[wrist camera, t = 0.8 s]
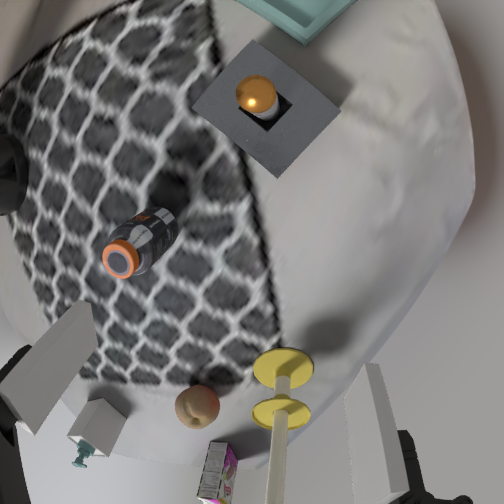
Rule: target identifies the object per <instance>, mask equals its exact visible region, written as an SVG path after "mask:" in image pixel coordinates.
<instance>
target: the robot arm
mask: <svg viewBox="0 0 504 504" xmlns="http://www.w3.org/2000/svg"><path fill="white" fill-rule="evenodd" d="M26 189H27V165H26V159H25V155H24V152H23V149H22V147H21V145H20V143H19V141H18V140H17V139H16V138H15V137H14V136H13V135H11V134H8V133H5V134H0V216H5V215H8V214H10V213H12V212H15V211H16V210H17V209H18V208H19V207H20V206H21V204H22V202H23V200H24V197H25V194H26ZM97 346H98V342H97V337H96V332H95V326H94V321H93V315H92V309H91V304H90V303H87V302H84V301H82V300H78V301H77V302H76V303H75V304H74V305H73V306H72V307H70V308H69V309H68V310H67V311H66V312H65V313H64V314H63V315H62V316H61V317H60V318H59V320H58V321H57V322H56V323H55V324H54V325H53V326H52V327H51V328H50V329H49V330H48V331H47V332H46V333H45V334H44V335H43V336H42V337H41V338H40V339H39V340H38V341H37V342H36V344H35V345H34V346H33V347H32V346H30V345H29V344H28V345H26V346H24V347H22V348H21V349H19V350H18V351H17V352H16V353H15V354H14V355H13V358H11V359H10V360H9V361H8V363H7V364H5V365H4V367H3V368H2V369H1V370H0V504H31V501H30V498H29V494H28V490H27V486H26V482H25V477H24V473H23V468H22V462H21V457H20V452H19V445H18V437H17V429H16V426H15V423H16V421H18V422H19V424H20V425H21V426H22V428H24V429H25V430H27V431H28V432H30V433H31V434H33V435H35V434H36V433H37V431H38V430H39V428H40V427H41V425H42V424H43V422H44V421H45V419H46V417H47V416H48V415H49V413H50V411H51V410H52V408H53V407H54V406H55V404H56V403H57V401H58V400H59V398H60V397H61V395H62V394H63V393H64V391H65V390H66V388H67V387H68V385H69V384H70V383H71V381H72V380H73V378H74V377H75V376H76V374H77V373H78V372H79V370H80V369H81V367H82V366H83V365H84V363H85V362H86V361H87V359H88V358H89V357H90V355H91V354H92V352H93V351H94V350H95V348H96V347H97ZM343 400H344V407H345V416H346V423H347V431H348V440H349V450H350V460H351V470H352V482H353V496H354V504H473V501H472V500H471V499H470V498H469V497H468V496H466V495H461V496H459V497H457V498H455V499H453V500H443V499H436V498H434V496H433V495H432V494H430V493H429V492H426V490H425V487H424V483H423V479H422V474H421V470H420V465H419V461H418V459H417V453H416V451H415V445H414V441H413V438H412V437H411V436H410V434H409V433H408V431H407V430H397V428H396V424H395V420H394V416H393V413H392V409H391V405H390V402H389V397H388V394H387V391H386V387H385V383H384V380H383V376H382V373H381V370H380V366H379V364H373V363H364V364H363V366H362V368H361V370H360V372H359V373H358V375H357V377H356V379H355V380H354V382H353V384H352V386H351V387H350V389H349V391H348V392H347V394H346V396H345V397H344V399H343Z"/></svg>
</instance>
